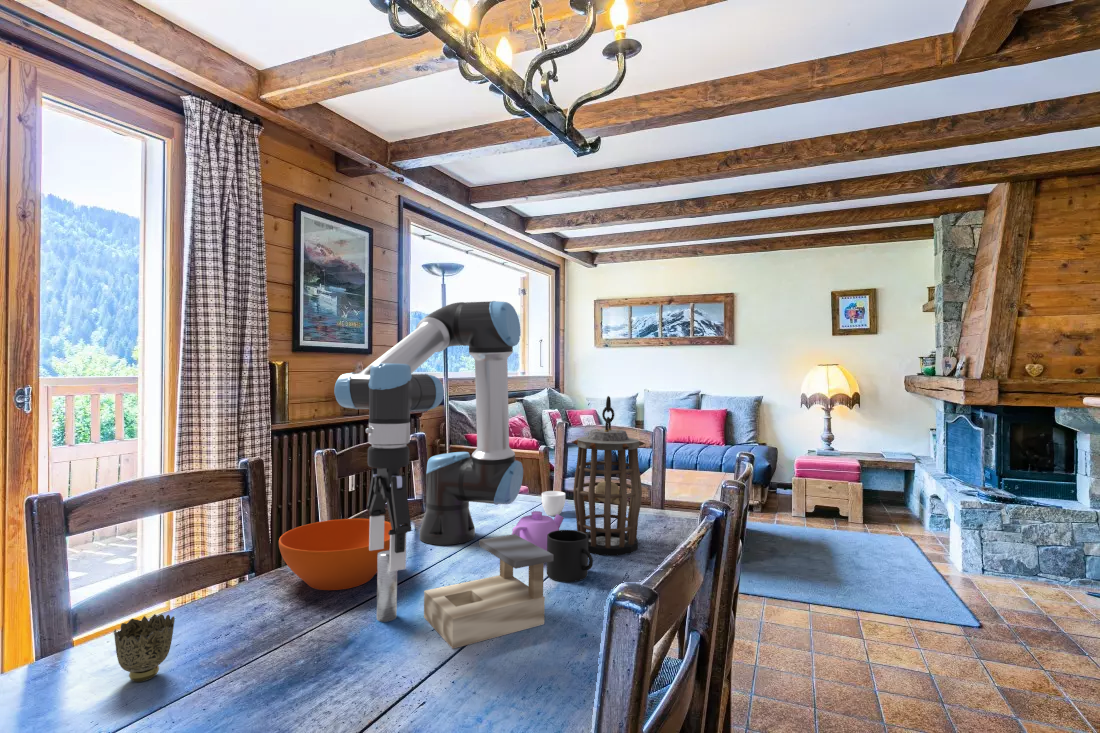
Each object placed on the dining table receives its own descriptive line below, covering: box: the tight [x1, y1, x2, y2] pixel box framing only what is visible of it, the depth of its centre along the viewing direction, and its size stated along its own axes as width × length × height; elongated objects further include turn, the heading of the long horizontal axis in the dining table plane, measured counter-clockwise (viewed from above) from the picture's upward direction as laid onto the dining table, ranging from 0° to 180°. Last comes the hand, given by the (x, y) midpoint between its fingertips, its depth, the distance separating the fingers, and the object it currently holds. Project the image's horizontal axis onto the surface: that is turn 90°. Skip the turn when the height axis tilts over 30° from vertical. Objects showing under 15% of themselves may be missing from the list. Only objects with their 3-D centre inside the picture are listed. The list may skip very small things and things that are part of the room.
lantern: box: [571, 395, 646, 557], centre depth 152 cm, size 19×19×40 cm
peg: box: [376, 550, 398, 623], centre depth 107 cm, size 4×4×12 cm
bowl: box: [278, 518, 392, 591], centre depth 126 cm, size 25×25×10 cm
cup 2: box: [113, 613, 176, 683], centre depth 85 cm, size 8×7×8 cm
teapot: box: [511, 510, 564, 551], centre depth 145 cm, size 14×20×11 cm
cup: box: [541, 490, 566, 517], centre depth 185 cm, size 8×10×7 cm
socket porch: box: [423, 533, 554, 650], centre depth 106 cm, size 15×20×13 cm
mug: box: [546, 529, 594, 583], centre depth 129 cm, size 9×12×9 cm
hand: (386, 559), depth 107 cm, fingers open, 13 cm apart
